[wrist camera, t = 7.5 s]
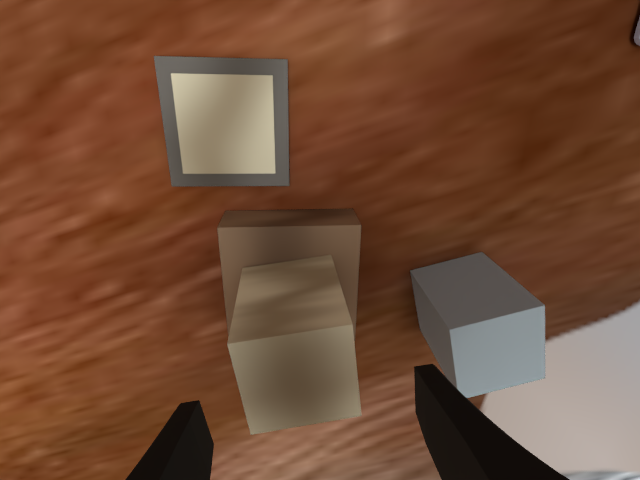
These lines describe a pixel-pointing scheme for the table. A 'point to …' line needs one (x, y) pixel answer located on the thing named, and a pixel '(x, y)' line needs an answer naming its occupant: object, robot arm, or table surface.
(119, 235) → the table surface
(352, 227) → the walnut block
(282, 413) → the maple block
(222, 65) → the swatch tile
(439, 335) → the slate block
